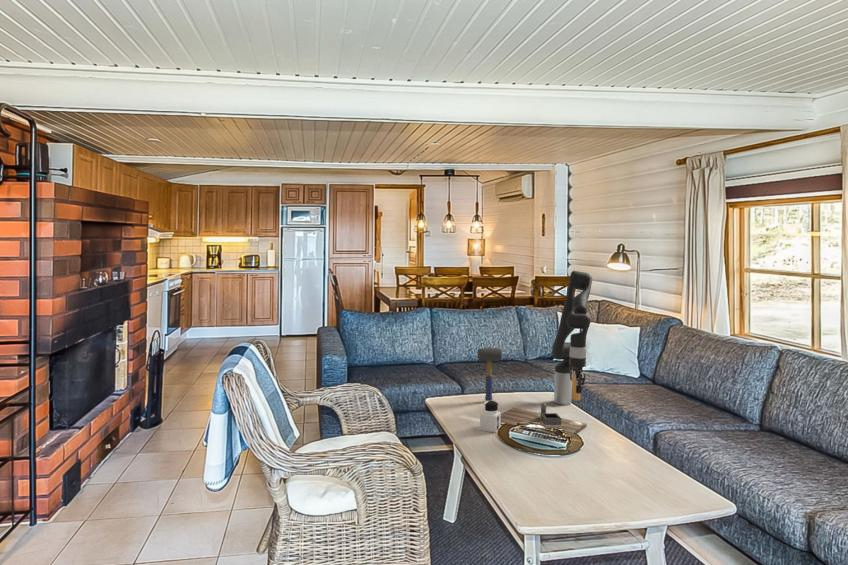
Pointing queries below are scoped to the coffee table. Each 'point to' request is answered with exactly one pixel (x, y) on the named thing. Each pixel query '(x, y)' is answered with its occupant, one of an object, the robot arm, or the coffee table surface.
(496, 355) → the rubber mallet
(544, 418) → the lever
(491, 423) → the container
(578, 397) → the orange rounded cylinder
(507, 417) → the base
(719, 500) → the coffee table surface
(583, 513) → the coffee table surface
